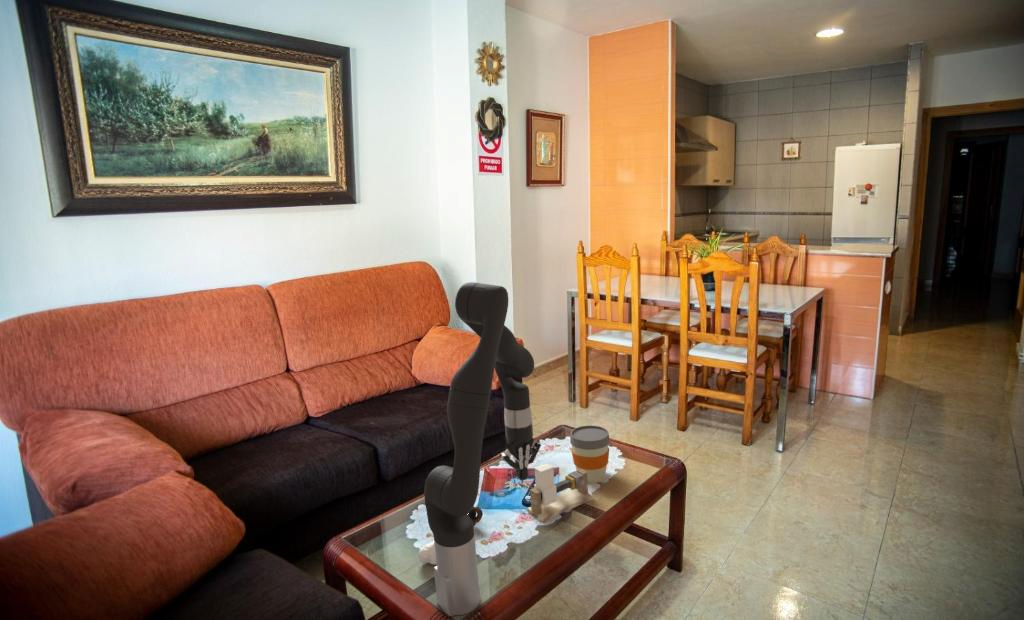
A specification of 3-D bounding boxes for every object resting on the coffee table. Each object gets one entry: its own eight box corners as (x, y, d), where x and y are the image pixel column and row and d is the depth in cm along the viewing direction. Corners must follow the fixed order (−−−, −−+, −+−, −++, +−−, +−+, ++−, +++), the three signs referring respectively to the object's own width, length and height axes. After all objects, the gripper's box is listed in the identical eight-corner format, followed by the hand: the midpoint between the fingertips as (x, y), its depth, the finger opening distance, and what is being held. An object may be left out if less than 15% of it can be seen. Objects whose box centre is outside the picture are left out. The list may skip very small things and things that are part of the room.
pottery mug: (440, 534, 169) (437, 504, 172) (457, 532, 177) (454, 502, 180) (477, 530, 164) (474, 499, 167) (493, 527, 173) (490, 497, 175)
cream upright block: (544, 506, 172) (542, 472, 170) (534, 499, 176) (532, 466, 174) (557, 501, 175) (555, 468, 172) (546, 494, 178) (545, 462, 176)
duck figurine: (422, 577, 154) (432, 559, 146) (410, 550, 158) (418, 531, 150) (462, 558, 160) (473, 540, 153) (449, 533, 164) (460, 513, 157)
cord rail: (541, 521, 171) (540, 496, 169) (527, 511, 177) (526, 486, 175) (592, 499, 181) (591, 474, 179) (577, 490, 187) (576, 466, 185)
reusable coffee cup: (617, 471, 197) (615, 428, 194) (601, 489, 186) (599, 444, 183) (582, 464, 203) (580, 422, 200) (565, 480, 193) (562, 437, 190)
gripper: (505, 432, 159) (510, 492, 163) (545, 418, 166) (549, 476, 170) (490, 424, 165) (495, 481, 169) (530, 411, 172) (534, 466, 176)
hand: (522, 478), depth 169 cm, fingers closed
